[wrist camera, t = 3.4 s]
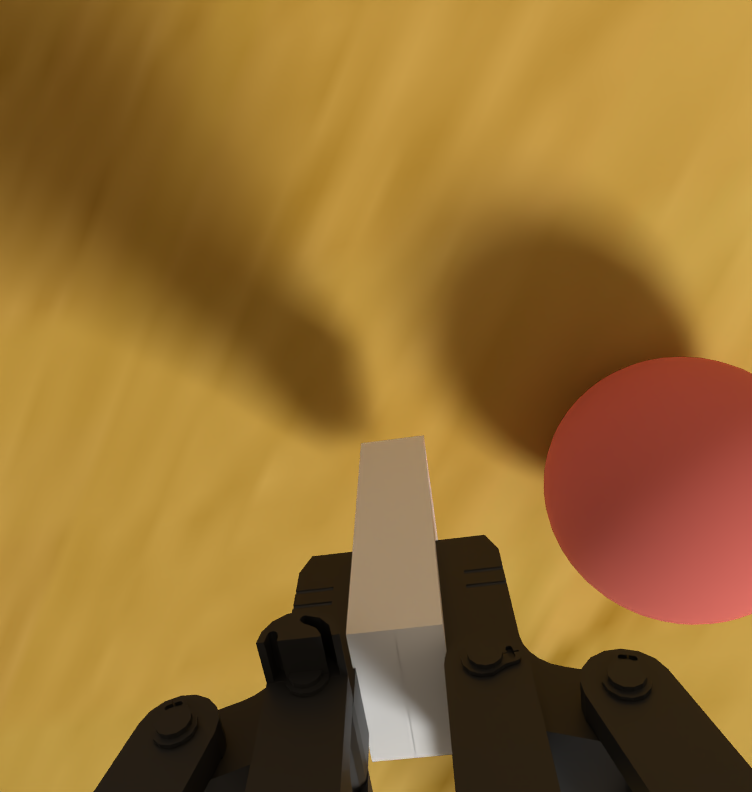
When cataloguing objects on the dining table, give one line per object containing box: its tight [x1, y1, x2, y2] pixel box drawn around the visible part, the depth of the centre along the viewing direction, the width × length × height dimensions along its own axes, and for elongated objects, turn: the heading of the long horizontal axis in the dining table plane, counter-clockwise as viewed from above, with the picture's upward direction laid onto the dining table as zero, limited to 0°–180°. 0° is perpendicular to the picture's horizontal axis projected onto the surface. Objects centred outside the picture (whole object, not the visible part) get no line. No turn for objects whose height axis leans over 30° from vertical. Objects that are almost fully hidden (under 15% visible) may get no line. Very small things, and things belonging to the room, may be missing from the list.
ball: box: [544, 357, 752, 625], centre depth 17 cm, size 6×6×6 cm
